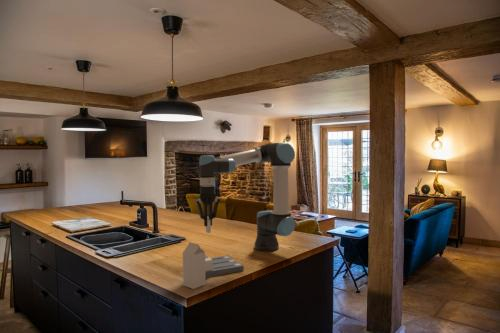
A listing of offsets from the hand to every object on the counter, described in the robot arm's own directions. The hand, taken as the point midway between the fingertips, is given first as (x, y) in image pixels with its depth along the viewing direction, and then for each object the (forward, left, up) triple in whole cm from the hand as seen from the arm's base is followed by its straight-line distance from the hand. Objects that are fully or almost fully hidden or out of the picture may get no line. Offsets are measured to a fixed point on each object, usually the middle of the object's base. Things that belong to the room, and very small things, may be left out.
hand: (208, 232), depth 179 cm
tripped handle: (+3, 0, -16) cm, 17 cm away
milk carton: (+13, +17, -19) cm, 29 cm away
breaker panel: (-3, 0, -19) cm, 19 cm away
